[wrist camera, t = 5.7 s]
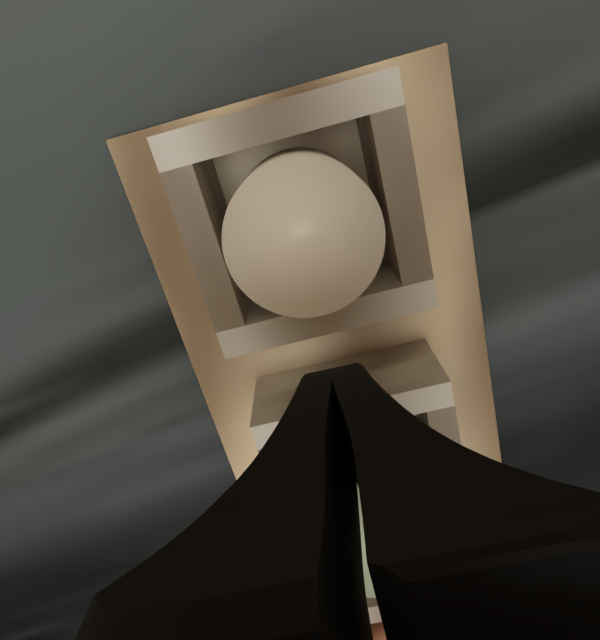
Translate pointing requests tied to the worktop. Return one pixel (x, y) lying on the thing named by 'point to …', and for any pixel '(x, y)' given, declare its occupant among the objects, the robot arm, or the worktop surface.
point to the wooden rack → (383, 292)
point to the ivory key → (303, 234)
